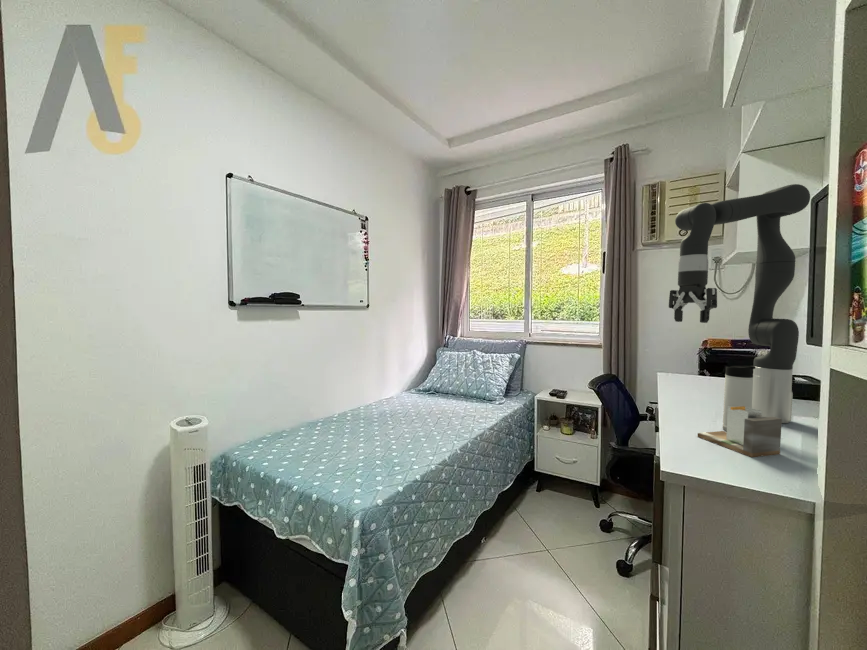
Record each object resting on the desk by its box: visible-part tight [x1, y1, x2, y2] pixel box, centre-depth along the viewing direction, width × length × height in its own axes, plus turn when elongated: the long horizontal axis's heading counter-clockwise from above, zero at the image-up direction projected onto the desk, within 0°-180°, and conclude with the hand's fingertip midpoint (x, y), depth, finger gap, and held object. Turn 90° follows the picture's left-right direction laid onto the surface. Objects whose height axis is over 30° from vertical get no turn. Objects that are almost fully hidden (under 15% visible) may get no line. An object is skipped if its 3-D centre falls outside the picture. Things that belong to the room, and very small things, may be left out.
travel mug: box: [722, 365, 755, 432], centre depth 103 cm, size 6×7×20 cm
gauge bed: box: [696, 416, 783, 458], centre depth 93 cm, size 14×9×9 cm, turn 12°
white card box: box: [726, 406, 762, 445], centre depth 91 cm, size 5×6×10 cm
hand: (690, 322), depth 110 cm, fingers open, 8 cm apart
